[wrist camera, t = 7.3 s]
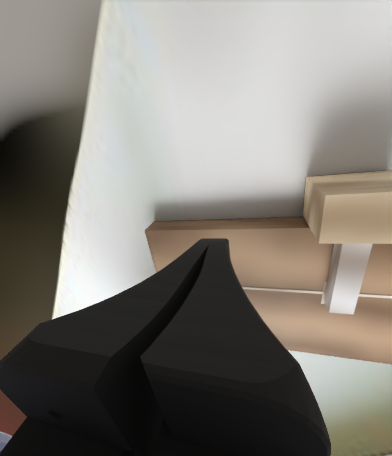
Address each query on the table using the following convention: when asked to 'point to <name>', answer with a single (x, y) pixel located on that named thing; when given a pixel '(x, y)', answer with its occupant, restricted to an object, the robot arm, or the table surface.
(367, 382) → the table surface
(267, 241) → the oak board
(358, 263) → the beige block
